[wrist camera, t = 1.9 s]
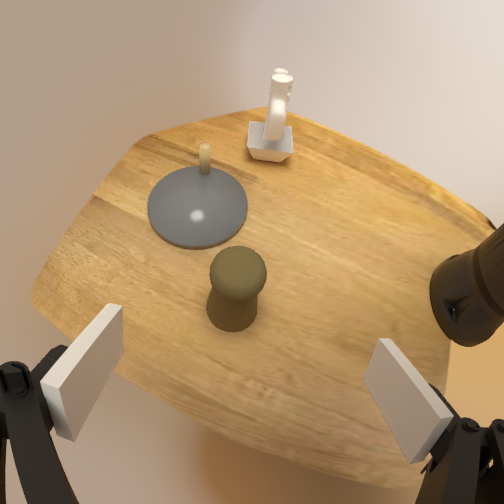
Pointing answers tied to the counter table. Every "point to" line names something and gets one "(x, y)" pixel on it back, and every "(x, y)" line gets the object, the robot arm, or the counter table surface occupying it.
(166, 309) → the counter table surface
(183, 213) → the coaster plate
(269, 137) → the figurine
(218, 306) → the brown rounded upright piece
